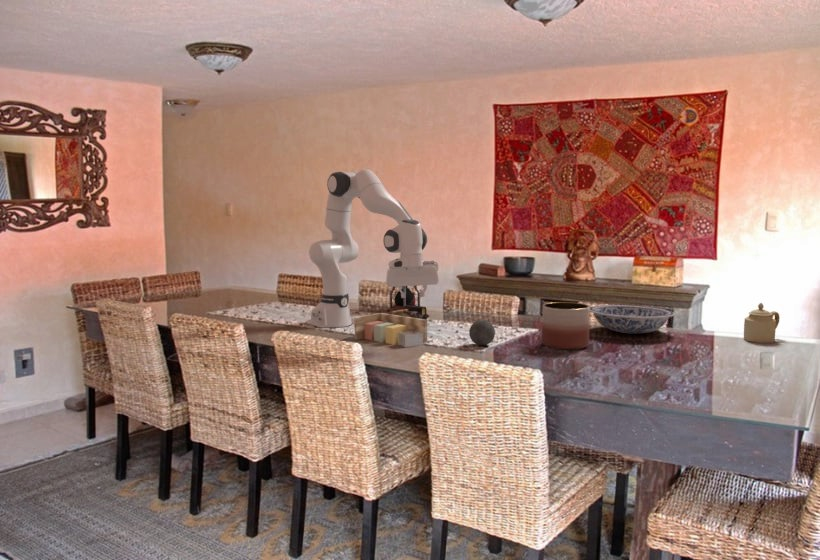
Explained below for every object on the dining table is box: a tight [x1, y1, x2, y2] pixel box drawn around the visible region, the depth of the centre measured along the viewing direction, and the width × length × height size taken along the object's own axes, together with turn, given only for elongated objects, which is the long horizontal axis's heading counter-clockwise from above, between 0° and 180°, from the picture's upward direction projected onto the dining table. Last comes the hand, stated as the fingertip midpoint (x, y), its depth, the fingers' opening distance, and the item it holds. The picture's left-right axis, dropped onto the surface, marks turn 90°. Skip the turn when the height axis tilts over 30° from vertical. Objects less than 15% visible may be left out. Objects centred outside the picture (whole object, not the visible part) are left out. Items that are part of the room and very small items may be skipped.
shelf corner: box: [354, 312, 428, 343], centre depth 266 cm, size 26×15×9 cm, turn 48°
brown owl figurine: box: [385, 305, 430, 321], centre depth 287 cm, size 15×11×25 cm
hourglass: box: [388, 265, 421, 312], centre depth 337 cm, size 16×16×25 cm
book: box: [385, 324, 406, 345], centre depth 264 cm, size 4×8×6 cm, turn 138°
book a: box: [364, 321, 385, 341], centre depth 272 cm, size 4×8×6 cm, turn 138°
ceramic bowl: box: [589, 304, 676, 335], centre depth 278 cm, size 34×34×10 cm
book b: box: [373, 322, 395, 343], centre depth 269 cm, size 4×8×6 cm, turn 138°
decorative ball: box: [468, 319, 496, 346], centre depth 257 cm, size 10×10×10 cm
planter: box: [541, 301, 590, 351], centre depth 255 cm, size 18×18×16 cm
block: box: [397, 330, 424, 348], centre depth 259 cm, size 6×8×5 cm
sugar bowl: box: [743, 302, 780, 344], centre depth 263 cm, size 15×11×15 cm
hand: (412, 297), depth 257 cm, fingers open, 6 cm apart
